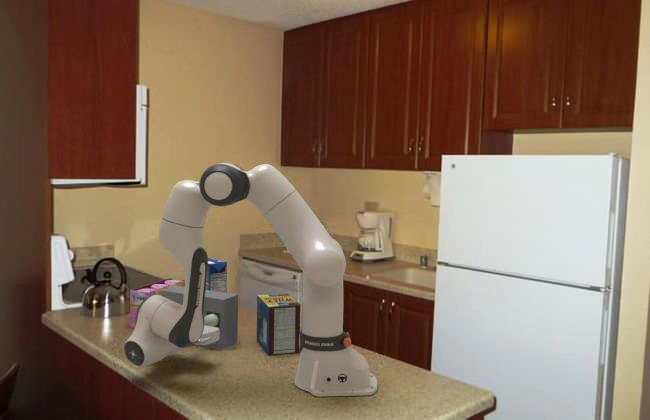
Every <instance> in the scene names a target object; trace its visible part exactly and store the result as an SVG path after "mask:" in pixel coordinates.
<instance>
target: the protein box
mask: <svg viewBox="0 0 650 420" xmlns="http://www.w3.org/2000/svg"><path fill="white" fill-rule="evenodd" d="M256 296H257V297H256V341H257V343H258V344H259V345H260V347H261V348H262V350H263V351H264V352H265V354H266V355H267V356H277V355H279V356H280V355H286V354H289V355H290V354H298V353H299V354H300V351H299V335H300V331H301V308H302V303H300V302H299V301H297V300H295V299H294V298H293V297H292V296H291V295H289V294H288V293H286V292H285V293H271V294H269V293H268V294H257V295H256Z"/></svg>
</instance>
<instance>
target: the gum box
mask: <svg viewBox="0 0 650 420" xmlns="http://www.w3.org/2000/svg"><path fill="white" fill-rule="evenodd" d="M176 286H181V287H185V279H182V280H177V279H173V278H172V277H167V278H165V279H164V278H163V279H161V280H159V281H156V282H153V283H149V284H146V285H142V286H140V287H135V288H133V289H130V290H129V291H130V294H129V303H130V304H129V305H130V307H129V310H130V311H129V313H130V315H129V319H130V320H129V321H130V322H129V327H130V328H131V329H135V315H136V311H137V308H138V306H139V305H140V304H141V303H142V302H143V301H144V300H145V299H146V298H148V297H149V296H152V295H155V294H157V295H160V296H162V291H163V290H166V289H170V288H173V287H176Z"/></svg>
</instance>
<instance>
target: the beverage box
mask: <svg viewBox="0 0 650 420" xmlns="http://www.w3.org/2000/svg"><path fill="white" fill-rule="evenodd" d="M227 285H228V262H227V261H224V260H221V259H217V258H214V257H208V270H207V281H206V290H210V291H217V292H224V293H228V292H227V290H228V286H227Z"/></svg>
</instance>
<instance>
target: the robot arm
mask: <svg viewBox="0 0 650 420" xmlns="http://www.w3.org/2000/svg"><path fill="white" fill-rule="evenodd" d="M244 200H247V201H248V202H250V203H252V205H253V206H254V207H256V209H257V210H258V211H259V213H260V214H261V215H262V216H263V218H264V219H265V221H266V222H267V223H268V224H269V226H270V227H271V228H272V230H274V232H275V233H276V235H277V236H278V237H279V238H280V240H281V241H282V242H283V244H284V246H285V247H286V249H287V251H288V252H289V254H290V255H291V256H292V258H293V259H294V260H295V262H296V263H297V265H298V266H299V268H300V269H301V270H302V274H303V275H302V298H301V299H302V300H301V328H300V335H299V351H300V352H299V360H298V365H297V370H296V373H295V377H294V381H293V383H294V385H295V386H296V387H297V388H299V389H301V390H303V391H306V392H308V393H310V394H311V395H312V396H314V397H347V396H348V397H351V396H355V397H356V396H358V397H359V396H372V395H374V394H375V393H376V392H377V391H378V386H379V382H378V378H377V376H376V375H375V374H373V373H371V371H370V366H369V363H368V360H367V359H366V356H364V355H362V354H361V353H359V352H358V350H356V349H355V348H353V347H352V346H351V345H352V339H351V336H350V333H349V332H348V331H347V332H345V331H344V329H343V325H344V275H345V271H346V268H347V261H346V256H345V254H344V251H343V248H342V246H341V244H340V243H339V242H338V241H337V240H336V239H335V238H332V236H331V235H330V234H329V232H328V231H327V230H326V228H325V226H323V224H322V223H321V221H320V220H319V218H318V217H317V216H316V214H315V213H314V211H313V210H312V209H311V207H310V206H309V204H307V201H305V200H304V199H303V197H302V196H301V194H300V193H299V192H298V191H297V189H296V188H295V187H294V185H293V184H291V182H290V181H289V180H288V179H287V177H285V176H284V175H283V173H281V172H280V171H279V170H278V169H277V168H276V167H274V166H273V165H272V164H268V163H263V164H259V165H257V166H255V167H253V168H252V169H249V170H248V171H245V170H244V169H243V168H241V166H239V165H237V164H234V163H229V162H222V163H215V164H213V165H211V166H209V167H207V168H206V169H205V170H204V171H203V173H202V174H201V176H200V179H199V181H197V180H192V179H184V180H180V181H178V182H176V183H175V184H174V185H173V187H172V189H171V191H170V192H169V196H168V198H167V200H166V203H165V206H164V209H163V212H162V216H161V220H160V223H159V227H158V239H159V242H160V244H161V247H162V248H163V249H164V251H165V252H166V253H167V254H168V255H169V256H170V257H172V259H174V261H175V262H176V263H177V264H178V265H179V266H180V268H181V269H182V272H183V274H184V278H185V279H184V280H185V289H184V298H183V305H180V304H178V303H176V302H174V301H172V300H170V299H167V298H165V297H163V296H160V295H157V294H155V295H152V296H149V297H148V298H146V299H145V300H144V301H143V302H142V303H141V304H140V305H139V306H138V308H137V311H136V315H135V328H133V331H132V332H131V335H130V336H129V337H128V338H127V339H126V341H125V342H124V346H123V352H124V355H125V357H126V359H127V361H129V362H130V363H131V364H133V365H135V366H136V367H147V366H149V365H150V366H151V365H153V364H155V363H157V362H159V361H162V360H163V359H164V358H167V357H171V356H172V355H176V353H180V352H181V351H184V350H185V349H186V348H187V347H190V346H192V345H194V344H196V345H195V346H200V345H207V344H211V343H213V342H216V341H218V340H219V338H220V330H219V328H217V327H211V326H206V323H204V300H205V290H206V281H207V270H208V258H209V257H208V255H209V254H208V253H207V251H206V250H205V247H204V240H203V237H204V236H203V234H204V227H205V224H206V219H207V216H208V214H209V211H210V209H211V208H212V207H214V206H216V207H226V206H232V205H234V204H237V203H239V202H241V201H244Z"/></svg>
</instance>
